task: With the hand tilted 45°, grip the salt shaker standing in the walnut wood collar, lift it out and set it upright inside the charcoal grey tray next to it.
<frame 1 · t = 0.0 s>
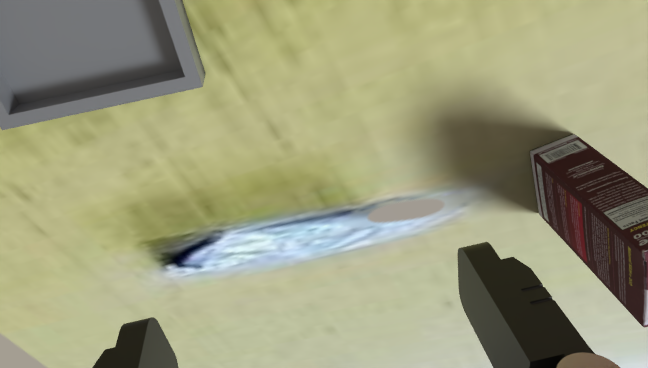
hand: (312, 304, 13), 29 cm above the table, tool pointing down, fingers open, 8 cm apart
supplement box: (554, 173, 49), on the table
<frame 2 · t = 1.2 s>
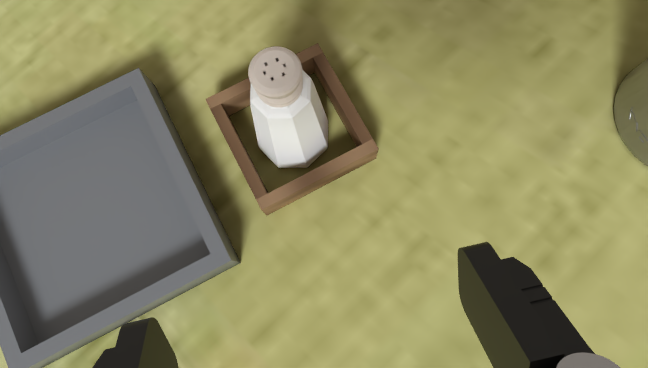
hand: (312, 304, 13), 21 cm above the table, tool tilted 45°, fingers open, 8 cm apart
collar: (293, 134, 36), on the table
salt shaker: (294, 135, 36), resting in collar
tray: (101, 218, 35), on the table
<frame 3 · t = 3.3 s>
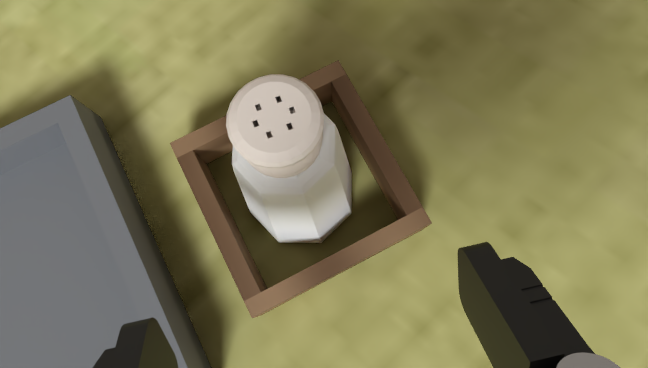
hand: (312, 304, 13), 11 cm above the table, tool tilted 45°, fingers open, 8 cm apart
collar: (301, 192, 24), on the table
salt shaker: (301, 193, 25), resting in collar
tray: (14, 317, 23), on the table
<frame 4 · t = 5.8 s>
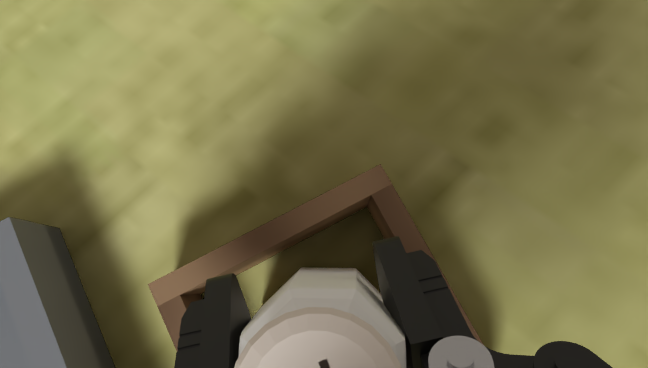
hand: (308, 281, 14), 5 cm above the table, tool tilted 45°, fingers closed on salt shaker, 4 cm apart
collar: (328, 336, 18), on the table
salt shaker: (327, 335, 18), resting in collar, touching gripper
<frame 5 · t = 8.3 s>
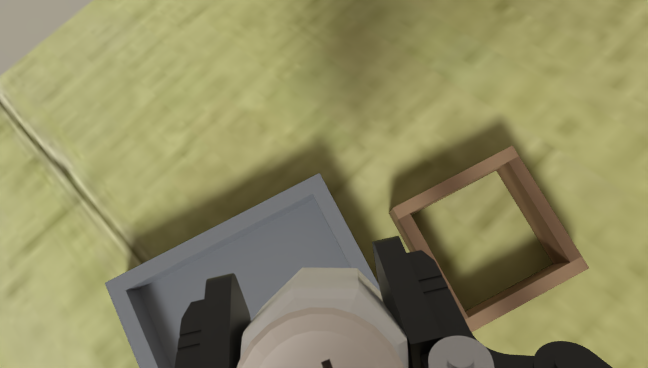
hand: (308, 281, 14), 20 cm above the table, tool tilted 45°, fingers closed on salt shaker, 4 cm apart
collar: (478, 240, 33), on the table
salt shaker: (329, 336, 18), point 14 cm above the table, touching gripper
tray: (272, 332, 32), on the table
when the fingers open (7 cm above the table, at t = 11.2 s): salt shaker drops 1 cm, resting on tray.
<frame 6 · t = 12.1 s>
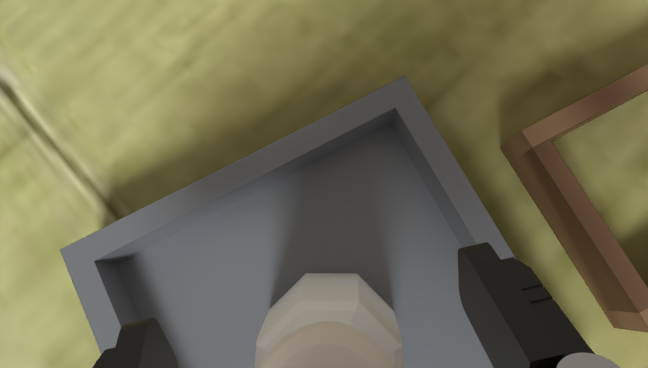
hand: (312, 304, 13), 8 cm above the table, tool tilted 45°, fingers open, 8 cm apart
collar: (639, 187, 21), on the table
salt shaker: (331, 336, 20), point 1 cm above the table, touching tray
tray: (328, 330, 20), on the table
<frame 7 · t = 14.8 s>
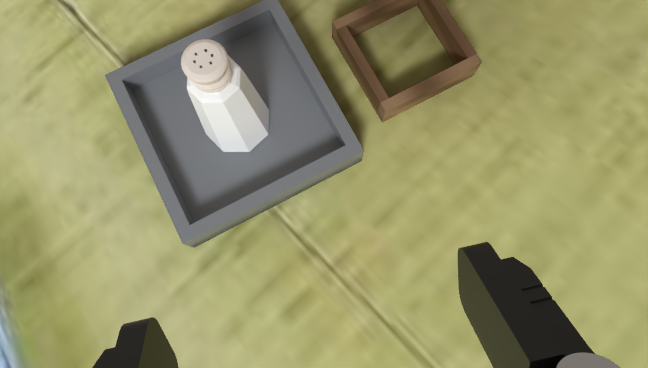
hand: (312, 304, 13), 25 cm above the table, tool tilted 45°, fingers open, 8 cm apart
collar: (401, 56, 42), on the table
salt shaker: (238, 123, 40), point 1 cm above the table, touching tray
tray: (238, 125, 40), on the table
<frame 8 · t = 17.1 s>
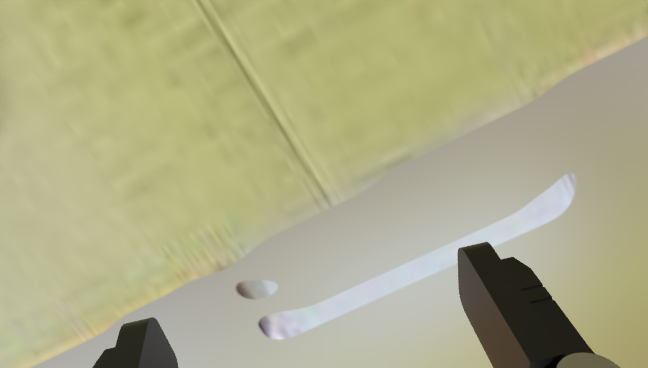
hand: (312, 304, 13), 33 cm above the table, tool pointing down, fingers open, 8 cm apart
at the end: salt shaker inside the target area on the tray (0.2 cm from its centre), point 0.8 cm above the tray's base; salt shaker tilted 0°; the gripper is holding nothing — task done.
